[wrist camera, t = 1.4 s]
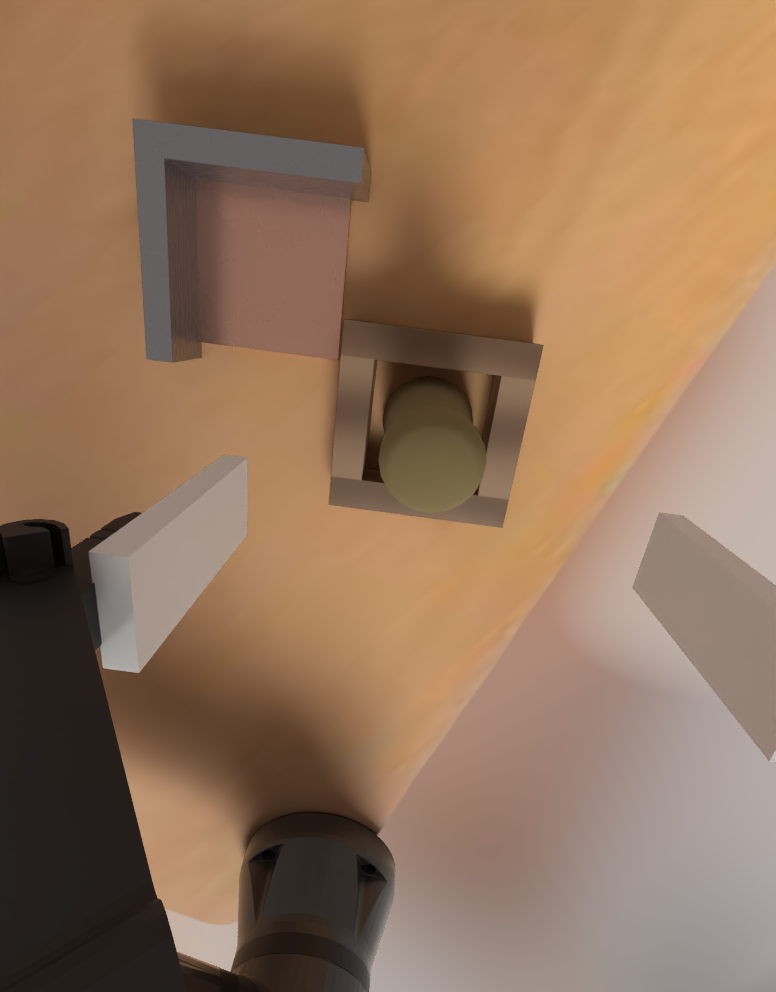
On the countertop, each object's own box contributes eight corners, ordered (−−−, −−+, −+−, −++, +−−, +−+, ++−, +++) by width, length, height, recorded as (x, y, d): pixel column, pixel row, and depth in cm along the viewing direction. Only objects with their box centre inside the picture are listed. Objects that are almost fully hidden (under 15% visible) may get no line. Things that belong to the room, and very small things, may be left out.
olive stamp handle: (419, 356, 30) (421, 374, 20) (491, 413, 31) (529, 458, 21) (364, 430, 32) (341, 482, 22) (434, 482, 33) (443, 554, 23)
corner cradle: (352, 377, 31) (343, 384, 27) (179, 354, 31) (146, 359, 27) (371, 171, 27) (364, 147, 23) (171, 146, 27) (132, 118, 23)
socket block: (496, 512, 34) (502, 527, 31) (334, 491, 34) (328, 504, 31) (533, 343, 30) (543, 345, 27) (349, 319, 30) (343, 319, 27)
